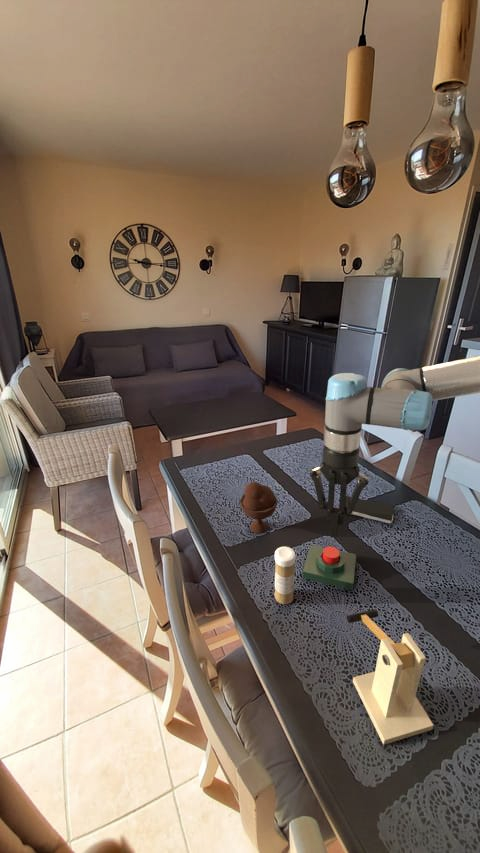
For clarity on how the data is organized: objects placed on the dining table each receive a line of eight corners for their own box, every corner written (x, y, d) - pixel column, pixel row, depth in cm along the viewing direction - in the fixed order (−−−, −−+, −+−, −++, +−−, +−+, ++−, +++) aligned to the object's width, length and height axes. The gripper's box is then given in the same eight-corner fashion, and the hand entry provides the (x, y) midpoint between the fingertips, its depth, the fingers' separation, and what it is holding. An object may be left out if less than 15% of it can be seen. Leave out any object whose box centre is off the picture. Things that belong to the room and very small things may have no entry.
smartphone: (392, 521, 106) (340, 509, 112) (391, 524, 107) (340, 512, 113) (394, 506, 113) (345, 495, 119) (393, 509, 114) (344, 498, 119)
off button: (339, 554, 91) (340, 548, 91) (338, 566, 88) (338, 559, 87) (323, 551, 93) (324, 545, 92) (321, 562, 89) (321, 555, 88)
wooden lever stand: (352, 681, 67) (361, 626, 61) (395, 669, 69) (408, 615, 63) (383, 744, 58) (396, 687, 52) (432, 729, 60) (450, 672, 54)
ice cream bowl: (247, 543, 101) (246, 499, 95) (236, 519, 111) (235, 477, 105) (282, 535, 104) (283, 491, 98) (269, 512, 114) (269, 471, 108)
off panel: (355, 560, 94) (357, 549, 93) (352, 590, 86) (354, 578, 84) (309, 550, 98) (310, 539, 96) (302, 578, 90) (303, 565, 88)
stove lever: (347, 623, 70) (346, 611, 70) (375, 617, 71) (374, 605, 71) (390, 673, 56) (389, 658, 56) (424, 664, 57) (423, 649, 57)
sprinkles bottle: (282, 586, 87) (283, 542, 82) (297, 596, 84) (299, 552, 79) (270, 597, 85) (270, 553, 79) (285, 609, 82) (286, 563, 76)
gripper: (373, 442, 79) (363, 528, 88) (313, 435, 83) (309, 518, 92) (372, 457, 72) (361, 549, 82) (307, 449, 77) (304, 537, 86)
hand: (334, 533), depth 87 cm, fingers closed
